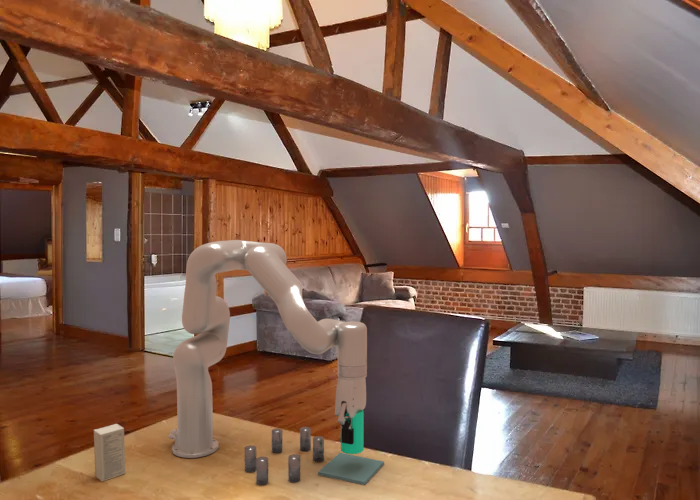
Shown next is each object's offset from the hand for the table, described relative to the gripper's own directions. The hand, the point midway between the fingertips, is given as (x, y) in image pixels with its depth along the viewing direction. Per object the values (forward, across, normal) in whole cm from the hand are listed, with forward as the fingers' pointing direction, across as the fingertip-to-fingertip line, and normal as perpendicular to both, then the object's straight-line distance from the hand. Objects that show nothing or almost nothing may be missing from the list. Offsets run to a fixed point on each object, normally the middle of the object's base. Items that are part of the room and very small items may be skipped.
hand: (352, 438), depth 150 cm
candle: (+3, 0, 0) cm, 3 cm away
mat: (+8, 0, 0) cm, 8 cm away
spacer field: (+8, +5, -17) cm, 20 cm away
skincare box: (+8, +29, -54) cm, 62 cm away
